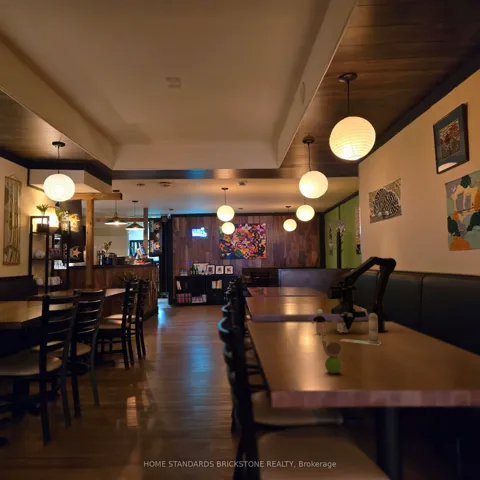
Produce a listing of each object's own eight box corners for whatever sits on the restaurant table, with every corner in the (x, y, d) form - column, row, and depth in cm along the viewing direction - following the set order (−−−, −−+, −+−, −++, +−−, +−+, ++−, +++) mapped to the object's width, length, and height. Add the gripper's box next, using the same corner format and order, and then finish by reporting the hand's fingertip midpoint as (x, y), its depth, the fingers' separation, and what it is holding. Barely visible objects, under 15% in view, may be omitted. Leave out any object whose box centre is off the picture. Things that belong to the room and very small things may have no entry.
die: (342, 330, 202) (342, 322, 203) (348, 332, 199) (348, 323, 199) (336, 331, 200) (336, 323, 200) (343, 332, 197) (342, 324, 197)
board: (383, 343, 169) (383, 342, 170) (379, 346, 164) (379, 345, 164) (342, 339, 180) (342, 338, 180) (337, 342, 174) (337, 340, 174)
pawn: (372, 341, 172) (372, 312, 173) (382, 343, 168) (381, 313, 168) (364, 342, 169) (364, 312, 170) (374, 345, 165) (373, 314, 166)
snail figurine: (320, 371, 128) (319, 334, 129) (338, 370, 128) (338, 334, 129) (325, 376, 123) (324, 338, 123) (344, 375, 123) (343, 337, 124)
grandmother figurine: (327, 334, 193) (326, 308, 194) (328, 335, 189) (327, 309, 190) (311, 333, 194) (311, 308, 194) (312, 335, 190) (311, 309, 191)
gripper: (323, 298, 201) (323, 328, 200) (350, 301, 185) (351, 333, 184) (338, 297, 207) (339, 326, 206) (366, 300, 191) (367, 331, 190)
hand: (348, 329), depth 196 cm, fingers closed
